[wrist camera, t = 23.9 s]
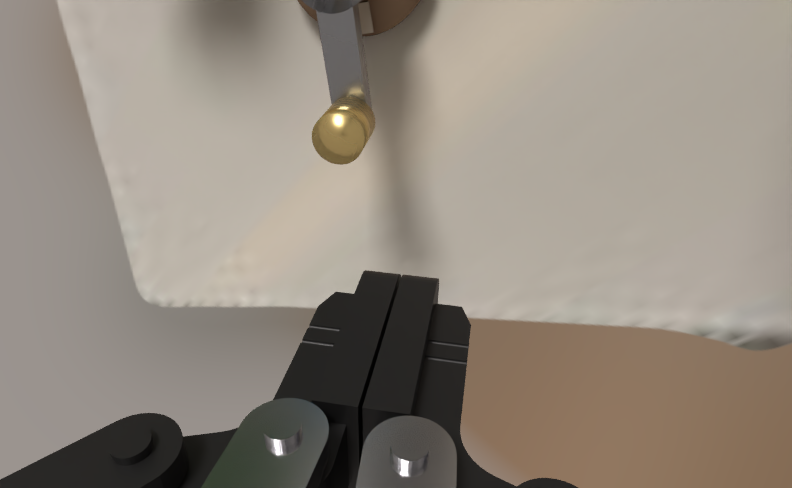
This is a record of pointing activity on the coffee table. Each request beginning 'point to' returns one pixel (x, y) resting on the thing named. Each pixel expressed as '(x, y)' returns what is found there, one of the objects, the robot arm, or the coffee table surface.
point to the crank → (343, 83)
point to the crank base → (377, 14)
